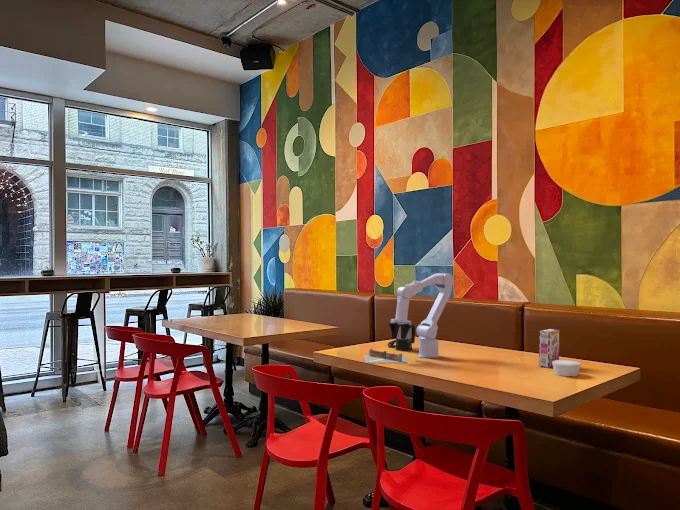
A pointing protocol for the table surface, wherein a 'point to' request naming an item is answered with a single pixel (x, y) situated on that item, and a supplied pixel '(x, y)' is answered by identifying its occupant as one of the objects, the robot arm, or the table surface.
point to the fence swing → (394, 356)
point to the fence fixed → (377, 353)
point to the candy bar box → (548, 347)
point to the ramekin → (566, 367)
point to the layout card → (382, 360)
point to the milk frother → (404, 343)
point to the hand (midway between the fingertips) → (398, 338)
